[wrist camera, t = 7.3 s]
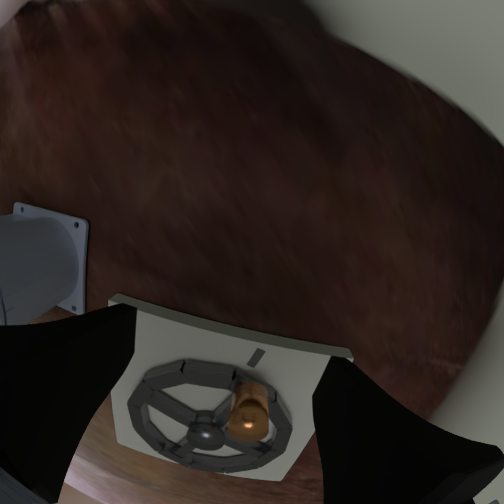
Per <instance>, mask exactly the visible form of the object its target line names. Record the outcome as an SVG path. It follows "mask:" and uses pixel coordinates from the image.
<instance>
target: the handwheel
mask: <svg viewBox="0 0 504 504" xmlns="http://www.w3.org/2000/svg"><path fill="white" fill-rule="evenodd" d="M233 370H234V367H230V366H223V365H215V364H208V363H202V362H195V361H189V360H187V362H185V361H184V360H183V361H180V362H176V363H173V364H170V365H166V366H162V367H159V368H155V369H151V370H148V372H146V373H145V375H144V376H143V378H142V379H141V381H140V382H139V384H138V385H137V386H136V388H135V389H134V391H133V392H132V394H131V396H130V397H129V399H128V401H127V406H128V411H129V415H130V419H131V422H132V426H133V428H135V429H134V430H135V431H136V432H137V433H138V434H139V435H140V437H141V438H142V439H143V440H144V441H145V442H146V443H147V444H148V445H149V446H150V447H151V448H152V449H153V450H154V451H158V452H157V453H159V454H161V455H162V456H164V457H166V458H168V459H170V460H173V461H175V462H177V463H179V464H181V465H183V466H185V467H189V466H190V468H191V469H197V470H203V471H209V472H216V473H223V474H224V472H225V473H226V474H227V473H235V472H241V471H248V470H254V469H259V468H261V467H263V466H264V465H266V464H268V463H269V462H271V461H272V460H274V459H276V458H277V457H279V456H280V455H282V454H283V453H284V452H285V451H286V448H287V445H288V442H289V439H290V436H291V433H292V430H293V425H292V417H291V415H290V413H289V411H288V410H287V408H286V406H285V405H284V403H283V401H282V399H281V398H280V396H279V394H278V392H277V391H275V389H274V388H272V387H270V386H268V385H266V384H265V383H263V382H261V381H259V380H257V379H255V378H254V377H252V376H250V375H248V374H247V373H245V372H243V371H241V370H240V369H238V368H236V369H235V371H234V372H233ZM182 384H192V385H198V386H204V387H211V388H218V389H225V390H229V391H231V392H233V394H232V395H231V396H230V397H229V398H228V399H227V400H226V401H225V402H224V403H223V404H222V405H221V406H220V407H219V408H218V409H217V410H216V411H214V412H213V413H211V412H199V413H194V412H192V411H190V410H189V409H187V408H185V407H183V406H182V405H180V404H178V403H176V402H175V401H173V400H171V399H170V398H168V397H166V396H165V395H163V394H161V393H160V392H158V391H157V390H161V389H165V388H170V387H174V386H178V385H182ZM146 403H147V404H148V405H150V406H151V407H153V408H155V409H156V410H158V411H160V412H161V413H163V414H165V415H166V416H168V417H170V418H172V419H174V420H175V421H177V422H179V423H181V424H183V425H185V426H186V427H188V431H187V434H186V437H185V438H184V439H183V440H182V441H181V442H180V443H178V444H177V445H174V444H172V443H171V442H169V441H167V440H166V439H165V438H164V437H163V436H162V435H161V434H160V433H159V432H158V430H157V429H156V428H155V427H154V426H153V425H152V424H151V423H150V422H149V418H148V412H147V407H146ZM269 419H270V420H271V422H272V423H273V425H274V426H275V428H274V431H273V435H272V439H271V440H270V441H269V442H268V443H266V444H265V445H262V444H260V443H257V441H260V440H262V439H264V438H265V437H266V436H267V435H268V433H269ZM227 422H229V424H228V429H226V428H227V424H226V423H227ZM223 445H226V446H228V447H230V448H233V449H235V450H237V451H240V452H242V453H245V454H247V455H242V456H236V457H230V458H224V459H223V458H216V457H209V456H203V455H197V454H193V453H191V451H193V450H194V449H195V448H198V449H201V450H205V451H215V450H218V449H220V448H222V447H223Z"/></svg>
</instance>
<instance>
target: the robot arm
mask: <svg viewBox="0 0 504 504" xmlns="http://www.w3.org/2000/svg"><path fill="white" fill-rule="evenodd" d="M77 222H78V223H79V227H77ZM88 229H89V224H88V222H87V220H85V219H82V218H78V217H74V216H70V215H66V214H62V213H59V212H55V211H51V210H47V209H44V208H40V207H36V206H32V205H29V204H25V203H21V202H16V203H15V204H14V211H13V214H8V215H3V216H0V504H54V503H58V499H59V495H60V492H61V489H62V485H63V482H64V479H65V476H66V473H67V471H68V468H69V465H70V463H71V460H72V458H73V455H74V453H75V451H76V449H77V447H78V444H79V442H80V440H81V438H82V436H83V434H84V432H85V430H86V428H87V426H88V424H89V422H90V420H91V419H92V417H93V415H94V414H95V412H96V411H97V409H98V408H99V407H100V405H101V404H102V402H103V401H104V400H105V398H106V397H107V396H108V394H109V393H110V391H111V390H112V389H113V387H114V386H115V385H116V383H117V382H118V380H119V379H120V378H121V376H122V375H123V374H124V372H125V370H126V368H127V366H128V365H129V363H130V361H131V359H132V357H133V355H134V353H135V336H136V321H137V308H136V307H133V306H130V305H128V304H125V303H120V304H115V305H112V306H108V307H105V308H101V309H98V310H95V311H91V312H88V313H85V274H86V254H87V240H88ZM56 305H57V306H59V307H61V308H63V309H66V310H68V311H70V312H72V313H75V314H77V316H73V317H69V318H65V319H61V320H56V321H51V322H45V323H38V324H29V325H27V324H28V323H30V322H31V321H33V320H34V319H36V318H37V317H39V316H40V315H42V314H43V313H45V312H46V311H48V310H49V309H51V308H53V307H54V306H56ZM74 306H75V307H76V309H75V307H74ZM312 412H313V421H314V427H315V432H316V437H317V442H318V447H319V452H320V458H321V463H322V470H323V486H324V504H475V503H474V501H473V497H475V496H476V495H477V494H478V493H479V492H480V491H481V490H483V489H484V488H485V487H486V486H487V485H488V484H489V483H490V482H491V481H492V480H493V479H494V478H495V477H496V476H497V475H498V474H499V473H500V472H501V471H502V470H503V468H504V454H503V453H502V451H501V450H500V449H499V448H498V447H497V446H495V445H490V444H485V443H481V442H476V441H472V440H469V439H466V438H463V437H460V436H457V435H455V434H452V433H450V432H448V431H445V430H443V429H441V428H439V427H437V426H435V425H433V424H431V423H429V422H427V421H426V420H424V419H422V418H421V417H419V416H418V415H416V414H414V413H413V412H411V411H410V410H408V409H407V408H405V407H404V406H403V405H401V404H400V403H399V402H397V401H396V400H395V399H394V398H392V397H391V396H390V395H389V394H387V393H386V392H385V391H384V390H383V389H382V388H380V387H379V386H378V385H377V384H376V383H375V382H374V381H373V380H371V379H370V378H369V377H368V376H367V375H366V374H365V373H364V372H363V371H362V370H360V369H359V368H358V367H357V366H356V365H355V364H354V363H352V362H351V361H350V360H348V359H347V358H344V357H338V356H331V357H330V359H329V362H328V364H327V366H326V368H325V370H324V372H323V374H322V376H321V378H320V381H319V383H318V385H317V387H316V389H315V391H314V393H313V395H312ZM489 504H499V502H498V500H494V501H493V502H491V503H489Z"/></svg>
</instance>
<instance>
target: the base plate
mask: <svg viewBox="0 0 504 504" xmlns="http://www.w3.org/2000/svg"><path fill="white" fill-rule="evenodd" d="M120 303H125V304H128V305H130V306H133V307H136V308H137V321H136V336H135V353H134V355H133V357H132V359H131V361H130V363H129V365H128V366H127V368H126V370H125V372H124V374H123V375H122V376H121V378H120V379H119V380H118V382H117V383H116V385H115V386H114V387H113V389H112V390H111V398H112V407H113V416H114V423H115V430H116V436H117V442H118V443H119V444H122V445H124V446H127V447H129V448H132V449H135V450H137V451H140V452H143V453H146V454H148V455H151V456H154V457H158V458H161V459H164V460H167V461H171V462H174V463H177V462H175V461H173V460H170V459H168V458H166V457H164V456H162V455H161V454H159V453H157V452H158V451H154V450H153V449H152V448H151V447H150V446H149V445H148V444H147V443H146V442H145V441H144V440H143V439H142V438H141V437H140V435H139V434H138V433H137V432H136V431H135V430H134V429H135V428H133V426H132V422H131V419H130V415H129V411H128V406H127V401H128V399H129V397H130V396H131V394H132V392H133V391H134V389H135V388H136V386H137V385H138V384H139V382H140V381H141V379H142V378H143V376H144V375H145V373H146V372H148V370H151V369H155V368H159V367H162V366H166V365H170V364H173V363H176V362H180V361H183V360H184V361H185V362H187V360H189V361H195V362H202V363H208V364H215V365H223V366H230V367H234V370H233V372H234V371H235V369H236V368H238V369H240V370H241V371H243V372H245V373H247V374H248V375H250V376H252V377H254V378H255V379H257V380H259V381H261V382H263V383H265V384H266V385H268V386H270V387H272V388H274V389H275V391H277V392H278V394H279V396H280V398H281V399H282V401H283V403H284V405H285V406H286V408H287V410H288V411H289V413H290V415H291V417H292V425H293V430H292V433H291V436H290V439H289V442H288V445H287V448H286V451H285V452H284V453H283V454H282V455H280V456H279V457H277V458H276V459H274V460H272V461H271V462H269V463H268V464H266V465H264V466H263V467H261V468H259V469H254V470H248V471H241V472H235V473H227V474H226V473H225V472H224V474H226V475H232V476H238V477H245V478H252V479H261V480H271V481H281V480H282V479H283V477H284V476H285V475H286V473H287V472H288V470H289V469H290V468H291V466H292V465H293V463H294V462H295V460H296V459H297V458H298V456H299V455H300V453H301V452H302V450H303V449H304V447H305V445H306V444H307V442H308V441H309V439H310V438H311V436H312V434H313V433H314V431H315V427H314V421H313V412H312V395H313V393H314V391H315V389H316V387H317V385H318V383H319V381H320V378H321V376H322V374H323V372H324V370H325V368H326V366H327V364H328V362H329V359H330V357H331V356H338V357H344V358H347V359H348V360H350V361H351V362H352V361H353V356H352V354H351V352H350V350H349V348H343V347H336V346H330V345H324V344H318V343H312V342H307V341H301V340H296V339H291V338H286V337H281V336H276V335H271V334H266V333H262V332H257V331H253V330H248V329H244V328H240V327H235V326H231V325H227V324H223V323H219V322H215V321H211V320H207V319H203V318H200V317H196V316H192V315H189V314H185V313H181V312H178V311H174V310H171V309H167V308H164V307H161V306H157V305H154V304H151V303H147V302H144V301H141V300H138V299H135V298H132V297H129V296H125V295H122V294H119V293H117V294H116V295H114V296H113V297H112V298H110V299H109V300H108V306H112V305H115V304H120ZM157 391H158V392H160V393H161V394H163V395H165V396H166V397H168V398H170V399H171V400H173V401H175V402H176V403H178V404H180V405H182V406H183V407H185V408H187V409H189V410H190V411H192V412H194V413H199V412H211V413H213V412H214V411H216V410H217V409H218V408H219V407H220V406H221V405H222V404H223V403H224V402H225V401H226V400H227V399H228V398H229V397H230V396H231V395H232V394H233V392H231V391H229V390H225V389H218V388H211V387H204V386H198V385H192V384H182V385H178V386H174V387H170V388H165V389H161V390H157ZM146 407H147V412H148V418H149V422H150V423H151V424H152V425H153V426H154V427H155V428H156V429H157V430H158V432H159V433H160V434H161V435H162V436H163V437H164V438H165V439H166V440H167V441H169V442H171V443H172V444H174V445H177V444H178V443H180V442H181V441H182V440H183V439H184V438H185V437H186V434H187V431H188V427H186V426H185V425H183V424H181V423H179V422H177V421H175V420H174V419H172V418H170V417H168V416H166V415H165V414H163V413H161V412H160V411H158V410H156V409H155V408H153V407H151V406H150V405H148V404H147V403H146ZM226 424H227V428H226V429H228V424H229V422H227V423H226ZM274 428H275V426H274V425H273V423H272V422H271V420H270V419H269V433H268V435H267V436H266V437H265V438H264V439H262V440H260V441H257V443H260V444H262V445H265V444H266V443H268V442H269V441H270V440H271V439H272V435H273V431H274ZM191 453H193V454H197V455H203V456H209V457H216V458H223V459H224V458H230V457H236V456H242V455H247V454H245V453H242V452H240V451H237V450H235V449H233V448H230V447H228V446H226V445H223V447H222V448H220V449H218V450H215V451H205V450H201V449H198V448H195V449H194V450H193V451H191ZM178 464H179V463H178ZM189 467H190V466H189ZM215 473H216V472H215ZM221 474H223V473H221Z"/></svg>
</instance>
